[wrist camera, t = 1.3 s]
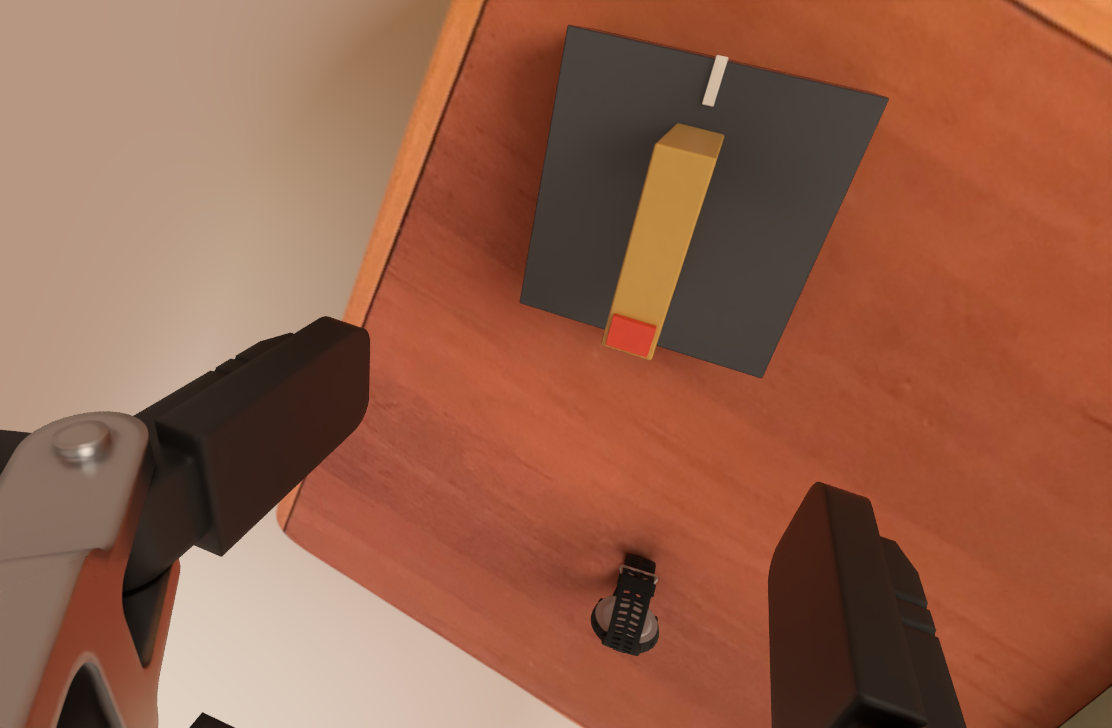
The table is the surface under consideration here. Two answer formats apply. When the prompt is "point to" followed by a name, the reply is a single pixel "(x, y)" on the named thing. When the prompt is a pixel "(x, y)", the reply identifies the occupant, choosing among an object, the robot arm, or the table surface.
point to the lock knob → (660, 237)
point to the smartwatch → (629, 609)
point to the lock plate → (731, 199)
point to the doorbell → (1094, 713)
